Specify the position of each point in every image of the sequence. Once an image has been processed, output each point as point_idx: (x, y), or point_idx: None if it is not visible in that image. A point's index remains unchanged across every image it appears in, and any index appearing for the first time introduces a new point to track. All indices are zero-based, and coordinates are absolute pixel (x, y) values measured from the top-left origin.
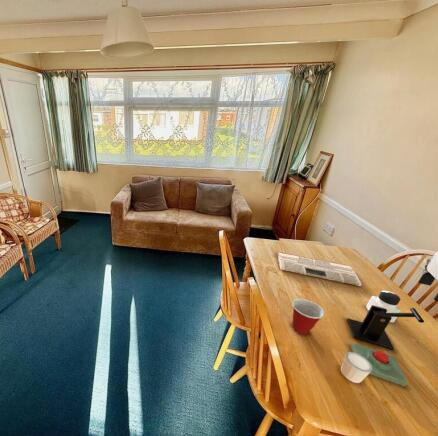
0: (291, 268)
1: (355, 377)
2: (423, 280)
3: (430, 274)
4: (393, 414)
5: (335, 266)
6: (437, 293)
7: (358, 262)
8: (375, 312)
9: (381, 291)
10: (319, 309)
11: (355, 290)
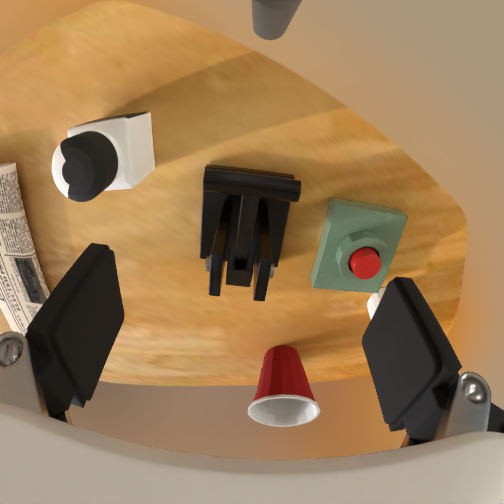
0: None
1: None
2: (109, 339)
3: (59, 393)
4: (446, 262)
5: None
6: (382, 398)
7: None
8: (239, 284)
9: (66, 196)
10: (276, 394)
11: (37, 178)
